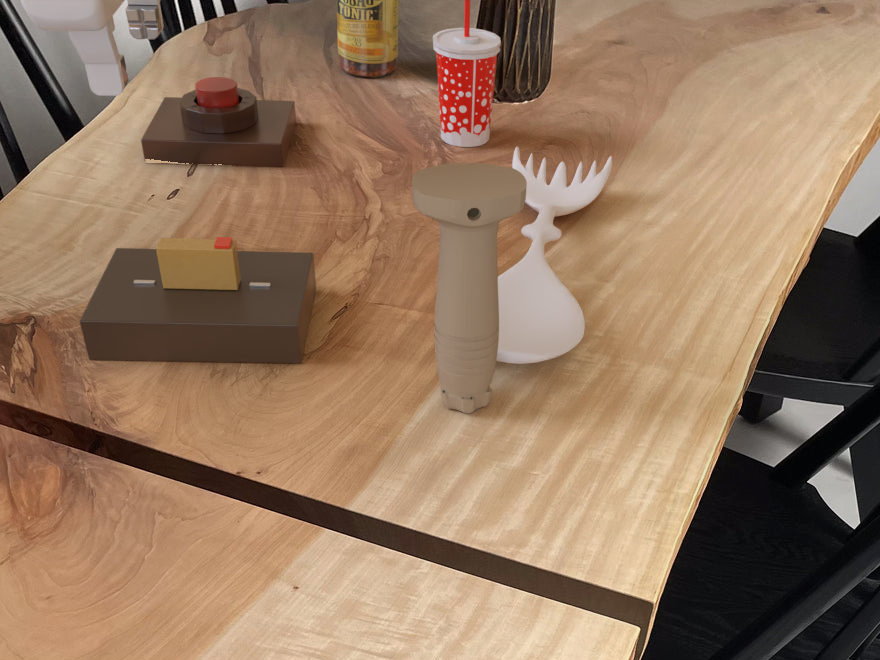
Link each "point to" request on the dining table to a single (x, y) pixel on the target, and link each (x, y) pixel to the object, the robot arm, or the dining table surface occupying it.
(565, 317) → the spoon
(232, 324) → the plate
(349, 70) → the brown tonic bottle
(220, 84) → the bell button
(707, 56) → the dining table surface
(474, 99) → the beverage cup
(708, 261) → the dining table surface
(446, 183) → the handle
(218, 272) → the lock knob
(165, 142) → the block
